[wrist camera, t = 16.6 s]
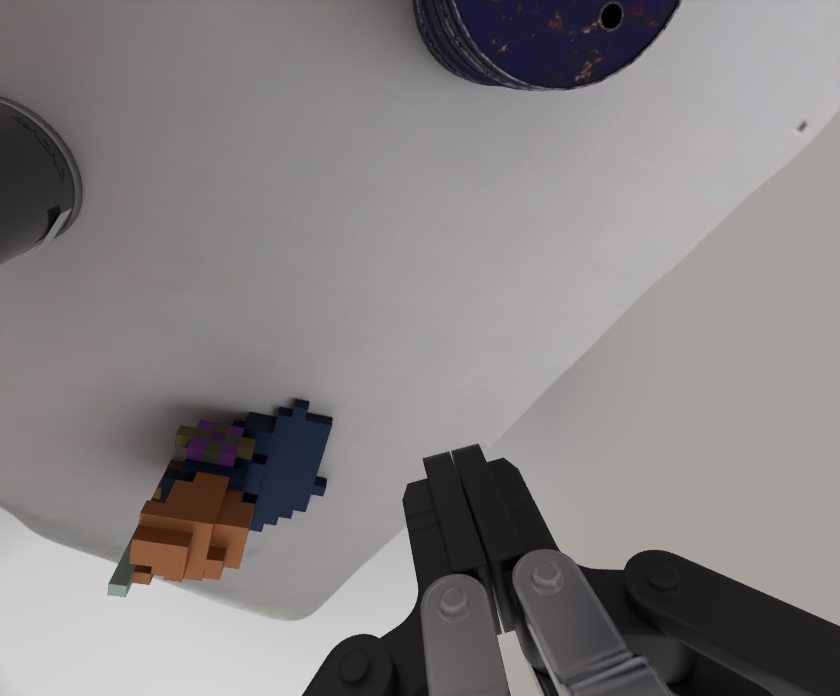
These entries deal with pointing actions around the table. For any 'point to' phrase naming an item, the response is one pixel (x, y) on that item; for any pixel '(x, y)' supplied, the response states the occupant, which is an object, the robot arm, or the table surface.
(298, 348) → the table surface
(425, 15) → the navy blue cylinder
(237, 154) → the table surface
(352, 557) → the table surface
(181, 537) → the blocky voxel figure
